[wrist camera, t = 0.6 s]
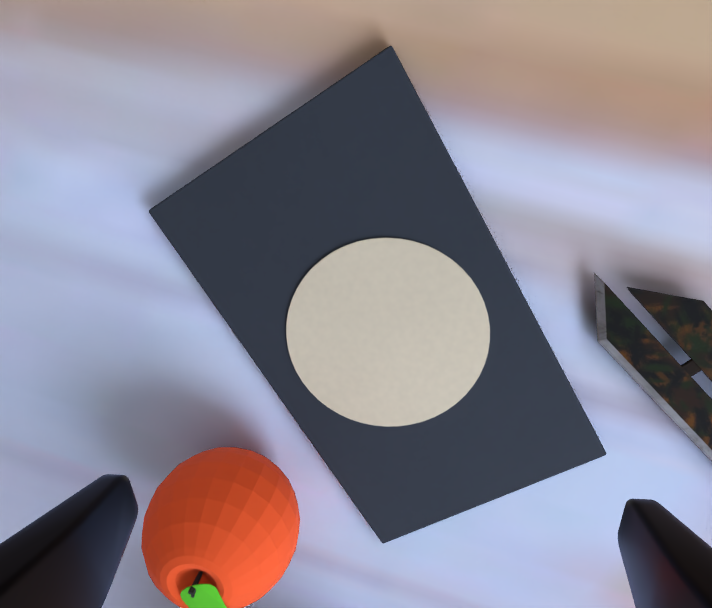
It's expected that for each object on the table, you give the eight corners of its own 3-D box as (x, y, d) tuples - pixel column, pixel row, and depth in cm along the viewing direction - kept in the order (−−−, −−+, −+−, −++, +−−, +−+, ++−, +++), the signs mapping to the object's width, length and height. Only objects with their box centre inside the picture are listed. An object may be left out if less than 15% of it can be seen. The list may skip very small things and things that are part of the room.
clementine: (344, 520, 26) (323, 653, 19) (236, 557, 28) (181, 692, 21) (270, 398, 24) (218, 500, 17) (157, 446, 26) (70, 556, 19)
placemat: (383, 535, 26) (382, 546, 25) (153, 208, 22) (146, 211, 21) (602, 447, 23) (608, 456, 23) (391, 47, 19) (391, 43, 18)
